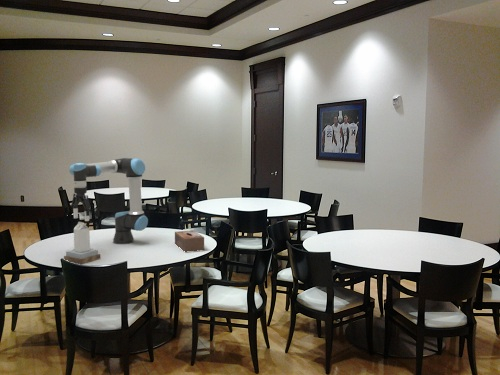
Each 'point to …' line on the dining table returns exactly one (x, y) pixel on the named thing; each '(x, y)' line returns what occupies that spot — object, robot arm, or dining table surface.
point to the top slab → (81, 253)
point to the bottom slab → (82, 261)
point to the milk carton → (81, 238)
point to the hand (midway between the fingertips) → (81, 219)
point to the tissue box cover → (189, 240)
